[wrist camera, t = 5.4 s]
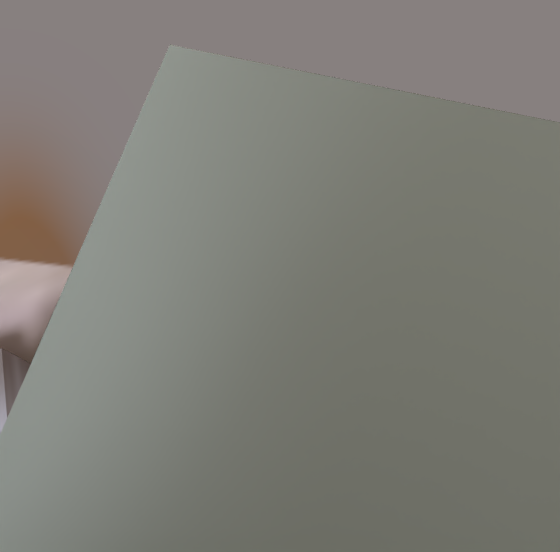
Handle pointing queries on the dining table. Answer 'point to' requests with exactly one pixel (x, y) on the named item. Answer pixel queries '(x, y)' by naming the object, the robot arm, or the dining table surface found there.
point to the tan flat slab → (10, 381)
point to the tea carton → (301, 330)
